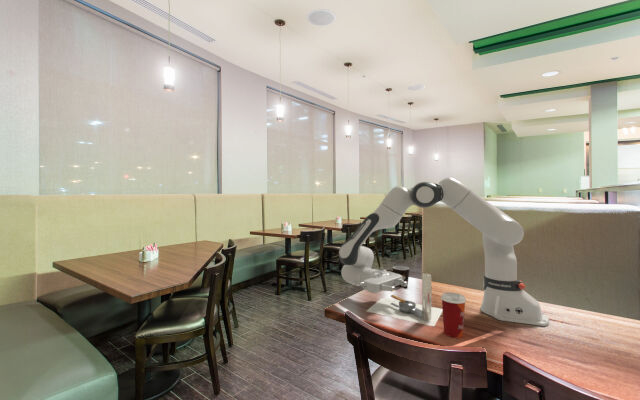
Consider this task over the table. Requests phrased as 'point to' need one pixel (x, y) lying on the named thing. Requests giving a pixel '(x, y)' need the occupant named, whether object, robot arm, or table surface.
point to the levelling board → (392, 310)
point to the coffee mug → (401, 273)
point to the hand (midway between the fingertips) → (400, 286)
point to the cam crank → (426, 300)
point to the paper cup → (453, 314)
